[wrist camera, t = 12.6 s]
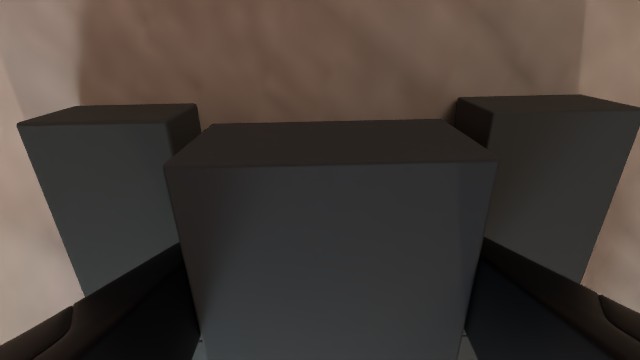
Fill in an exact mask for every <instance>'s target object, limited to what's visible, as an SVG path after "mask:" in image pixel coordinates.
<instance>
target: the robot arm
mask: <svg viewBox="0 0 640 360" xmlns="http://www.w3.org/2000/svg"><path fill="white" fill-rule="evenodd" d="M464 330H465V333H466V335H467V337H468V339H469V341H470V344H471V346H472V348H473V350H474V353H475V355H476V357H477V359H478V360H640V313H638V312H635V311H633V310H631V309H629V308H627V307H625V306H623V305H621V304H619V303H617V302H615V301H613V300H611V299H609V298H607V297H605V296H603V295H598V294H597V293H596V292H595V291H593V290H591V289H589V288H587V287H585V286H583V285H581V284H579V283H577V282H575V281H573V280H571V279H569V278H567V277H565V276H563V275H560V274H558V273H556V272H554V271H552V270H550V269H548V268H546V267H544V266H542V265H540V264H538V263H536V262H534V261H532V260H530V259H528V258H526V257H524V256H522V255H520V254H518V253H516V252H514V251H512V250H510V249H508V248H506V247H504V246H502V245H500V244H498V243H496V242H494V241H492V240H490V239H488V238H486V237H484V238H483V243H482V248H481V252H480V257H479V261H478V266H477V271H476V275H475V280H474V285H473V289H472V294H471V299H470V303H469V308H468V313H467V317H466V322H465V327H464ZM200 336H201V333H200V328H199V324H198V320H197V315H196V311H195V307H194V302H193V298H192V294H191V289H190V285H189V281H188V276H187V272H186V268H185V263H184V259H183V255H182V250H181V246H180V242H178V243H176V244H175V245H173V246H171V247H169V248H168V249H166V250H164V251H163V252H161V253H159V254H158V255H156V256H154V257H153V258H151V259H149V260H147V261H146V262H144V263H142V264H141V265H139V266H137V267H136V268H134V269H132V270H131V271H129V272H127V273H125V274H124V275H122V276H120V277H119V278H117V279H115V280H114V281H112V282H110V283H108V284H107V285H105V286H103V287H102V288H100V289H98V290H97V291H95V292H93V293H92V294H90V295H88V296H86V297H85V298H83V299H81V300H80V301H78V302H76V303H75V304H74V305H73V306H69V307H68V308H66V309H64V310H63V311H61V312H59V313H58V314H56V315H54V316H53V317H51V318H49V319H47V320H46V321H44V322H42V323H40V324H39V325H37V326H35V327H33V328H32V329H30V330H28V331H26V332H25V333H23V334H21V335H19V336H17V337H16V338H14V339H12V340H10V341H8V342H6V343H4V344H3V345H1V346H0V360H192V358H193V355H194V353H195V350H196V347H197V345H198V342H199V339H200Z"/></svg>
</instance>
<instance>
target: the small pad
mask: <svg viewBox="0 0 640 360" xmlns="http://www.w3.org/2000/svg"><path fill="white" fill-rule="evenodd" d="M499 164H500V159H499V157H498V156H496V155H495V154H493V153H492V152H490V151H489V150H487V149H486V148H484V147H483V146H481V145H480V144H478V143H477V142H475V141H474V140H472V139H471V138H469V137H468V136H466V135H465V134H463V133H462V132H460V131H459V130H457V129H456V128H454V127H453V126H451V125H450V124H448V123H447V122H445V121H444V120H442V119H415V120H369V121H323V122H277V123H231V124H212V125H210V126H209V127H208V128H207V129H206V130H204V131H203V132H202V133H201V134H199V135H198V136H197V137H196V138H195V139H193V140H192V141H191V142H190V143H189V144H187V145H186V146H185V147H184V148H183V149H181V150H180V151H179V152H178V153H177V154H175V155H174V156H173V157H172V158H171V159H169V160H168V161H167V162H166V163H165V164H164V165H163V172H164V176H165V181H166V185H167V189H168V194H169V198H170V203H171V207H172V211H173V216H174V220H175V224H176V229H177V233H178V237H179V242H180V246H181V250H182V255H183V259H184V263H185V268H186V272H187V276H188V281H189V285H190V289H191V294H192V298H193V302H194V307H195V311H196V315H197V320H198V324H199V328H200V333H201V337H202V341H203V346H204V350H205V354H206V359H207V360H457V359H458V354H459V350H460V345H461V341H462V336H463V331H464V327H465V322H466V317H467V313H468V308H469V303H470V299H471V294H472V289H473V285H474V280H475V275H476V271H477V266H478V261H479V257H480V252H481V248H482V243H483V238H484V234H485V229H486V224H487V220H488V215H489V210H490V206H491V201H492V196H493V192H494V187H495V182H496V178H497V173H498V168H499Z"/></svg>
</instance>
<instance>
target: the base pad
mask: <svg viewBox="0 0 640 360" xmlns="http://www.w3.org/2000/svg"><path fill="white" fill-rule="evenodd" d="M639 127H640V107H635V106H630V105H626V104H621V103H617V102H612V101H608V100H603V99H598V98H594V97H589V96H585V95H536V96H492V97H459V98H458V102H457V109H456V116H455V123H454V128H456V129H457V130H459V131H460V132H462V133H463V134H465V135H466V136H468V137H469V138H471V139H472V140H474V141H475V142H477V143H478V144H480V145H481V146H483V147H484V148H486V149H487V150H489V151H490V152H492V153H493V154H495V155H496V156H498V157H499V159H500V164H499V168H498V173H497V178H496V182H495V187H494V192H493V196H492V201H491V206H490V210H489V215H488V220H487V224H486V229H485V234H484V237H486V238H488V239H490V240H492V241H494V242H496V243H498V244H500V245H502V246H504V247H506V248H508V249H510V250H512V251H514V252H516V253H518V254H520V255H522V256H524V257H526V258H528V259H530V260H532V261H534V262H536V263H538V264H540V265H542V266H544V267H546V268H548V269H550V270H552V271H554V272H556V273H558V274H560V275H563V276H565V277H567V278H569V279H571V280H573V281H575V282H577V283H579V284H580V282H581V280H582V277H583V275H584V272H585V269H586V267H587V264H588V261H589V259H590V256H591V253H592V251H593V248H594V246H595V243H596V240H597V238H598V235H599V232H600V230H601V227H602V224H603V222H604V219H605V216H606V214H607V211H608V209H609V206H610V203H611V201H612V198H613V195H614V193H615V190H616V187H617V185H618V182H619V179H620V177H621V174H622V172H623V169H624V166H625V164H626V161H627V158H628V156H629V153H630V150H631V148H632V145H633V143H634V140H635V137H636V135H637V132H638V129H639ZM17 129H18V131H19V134H20V136H21V139H22V141H23V144H24V146H25V148H26V151H27V153H28V156H29V158H30V161H31V163H32V166H33V168H34V171H35V173H36V176H37V178H38V181H39V183H40V186H41V188H42V191H43V193H44V196H45V198H46V201H47V203H48V206H49V208H50V211H51V213H52V216H53V218H54V221H55V223H56V226H57V228H58V231H59V233H60V236H61V238H62V241H63V243H64V246H65V248H66V251H67V253H68V256H69V258H70V261H71V263H72V266H73V268H74V271H75V273H76V276H77V278H78V281H79V283H80V286H81V288H82V291H83V293H84V296H85V297H86V296H88V295H90V294H92V293H93V292H95V291H97V290H98V289H100V288H102V287H103V286H105V285H107V284H108V283H110V282H112V281H114V280H115V279H117V278H119V277H120V276H122V275H124V274H125V273H127V272H129V271H131V270H132V269H134V268H136V267H137V266H139V265H141V264H142V263H144V262H146V261H147V260H149V259H151V258H153V257H154V256H156V255H158V254H159V253H161V252H163V251H164V250H166V249H168V248H169V247H171V246H173V245H175V244H176V243H178V242H179V237H178V233H177V229H176V224H175V220H174V216H173V211H172V207H171V203H170V198H169V194H168V189H167V185H166V181H165V176H164V172H163V165H164V164H165V163H166V162H167V161H168V160H169V159H171V158H172V157H173V156H174V155H175V154H177V153H178V152H179V151H180V150H181V149H183V148H184V147H185V146H186V145H187V144H189V143H190V142H191V141H192V140H193V139H195V138H196V137H197V136H198V135H199V134H201V128H200V122H199V117H198V111H197V106H196V104H193V103H192V104H148V105H103V106H74V107H71V108H67V109H64V110H60V111H57V112H53V113H50V114H46V115H43V116H39V117H36V118H32V119H29V120H25V121H22V122H19V123H17ZM192 360H207V359H206V354H205V350H204V346H203V341H202V337H201V336H200V339H199V342H198V345H197V347H196V350H195V353H194V355H193V358H192ZM457 360H478V359H477V357H476V355H475V353H474V350H473V348H472V346H471V344H470V341H469V339H468V337H467V335H466V333H465V330H464V331H463V336H462V341H461V345H460V350H459V354H458V359H457Z"/></svg>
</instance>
